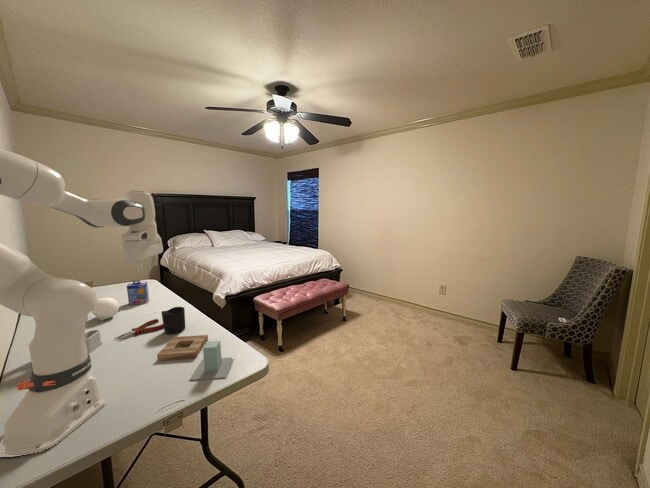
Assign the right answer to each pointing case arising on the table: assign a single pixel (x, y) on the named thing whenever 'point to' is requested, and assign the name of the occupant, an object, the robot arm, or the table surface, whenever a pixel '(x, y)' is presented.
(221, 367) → the rubber mat
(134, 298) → the ink cartridge box
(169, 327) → the pen holder
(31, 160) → the robot arm
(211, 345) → the square plug
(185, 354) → the plug dock
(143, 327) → the pliers
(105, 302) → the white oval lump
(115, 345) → the table surface
